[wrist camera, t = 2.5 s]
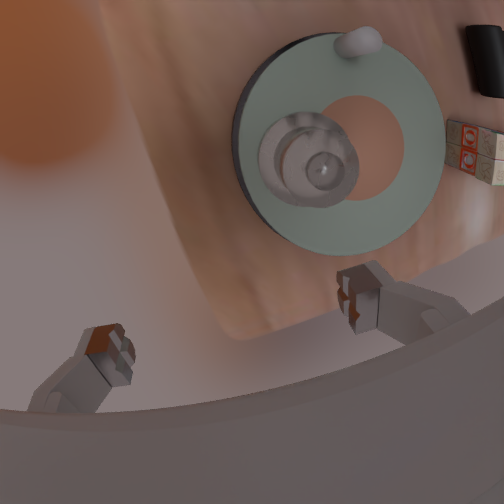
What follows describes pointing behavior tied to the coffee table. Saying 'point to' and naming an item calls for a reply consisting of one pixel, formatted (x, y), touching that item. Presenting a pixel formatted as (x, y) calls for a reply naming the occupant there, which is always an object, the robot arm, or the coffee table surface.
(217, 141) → the coffee table surface
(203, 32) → the coffee table surface
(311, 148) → the cover
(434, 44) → the coffee table surface
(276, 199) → the turntable
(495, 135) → the stack of blocks
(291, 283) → the coffee table surface
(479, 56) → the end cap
